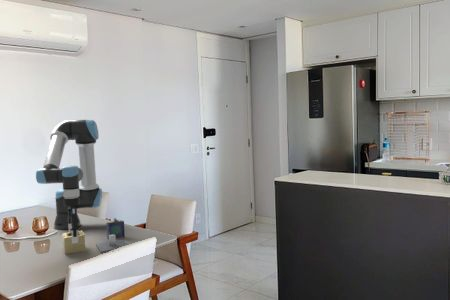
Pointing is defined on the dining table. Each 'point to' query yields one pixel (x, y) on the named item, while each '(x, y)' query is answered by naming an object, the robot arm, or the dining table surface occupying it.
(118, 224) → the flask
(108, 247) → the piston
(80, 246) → the olive slotted box
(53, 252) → the dining table surface
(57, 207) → the robot arm
